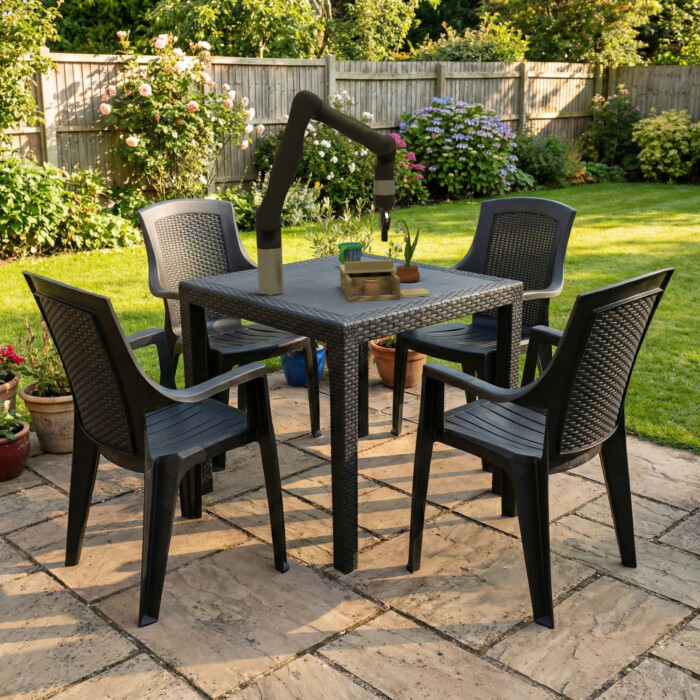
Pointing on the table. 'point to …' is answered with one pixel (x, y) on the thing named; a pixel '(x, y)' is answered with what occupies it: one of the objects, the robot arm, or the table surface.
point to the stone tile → (414, 292)
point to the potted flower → (407, 257)
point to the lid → (367, 266)
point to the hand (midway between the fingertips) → (384, 241)
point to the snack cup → (350, 252)
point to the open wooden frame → (356, 285)
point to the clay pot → (372, 286)
